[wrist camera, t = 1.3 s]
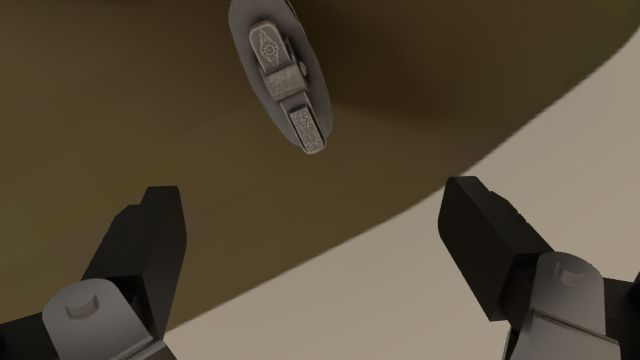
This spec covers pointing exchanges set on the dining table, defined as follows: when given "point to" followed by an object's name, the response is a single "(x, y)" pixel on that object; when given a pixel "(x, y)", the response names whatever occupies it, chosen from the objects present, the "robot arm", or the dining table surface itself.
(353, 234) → the dining table surface
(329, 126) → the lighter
